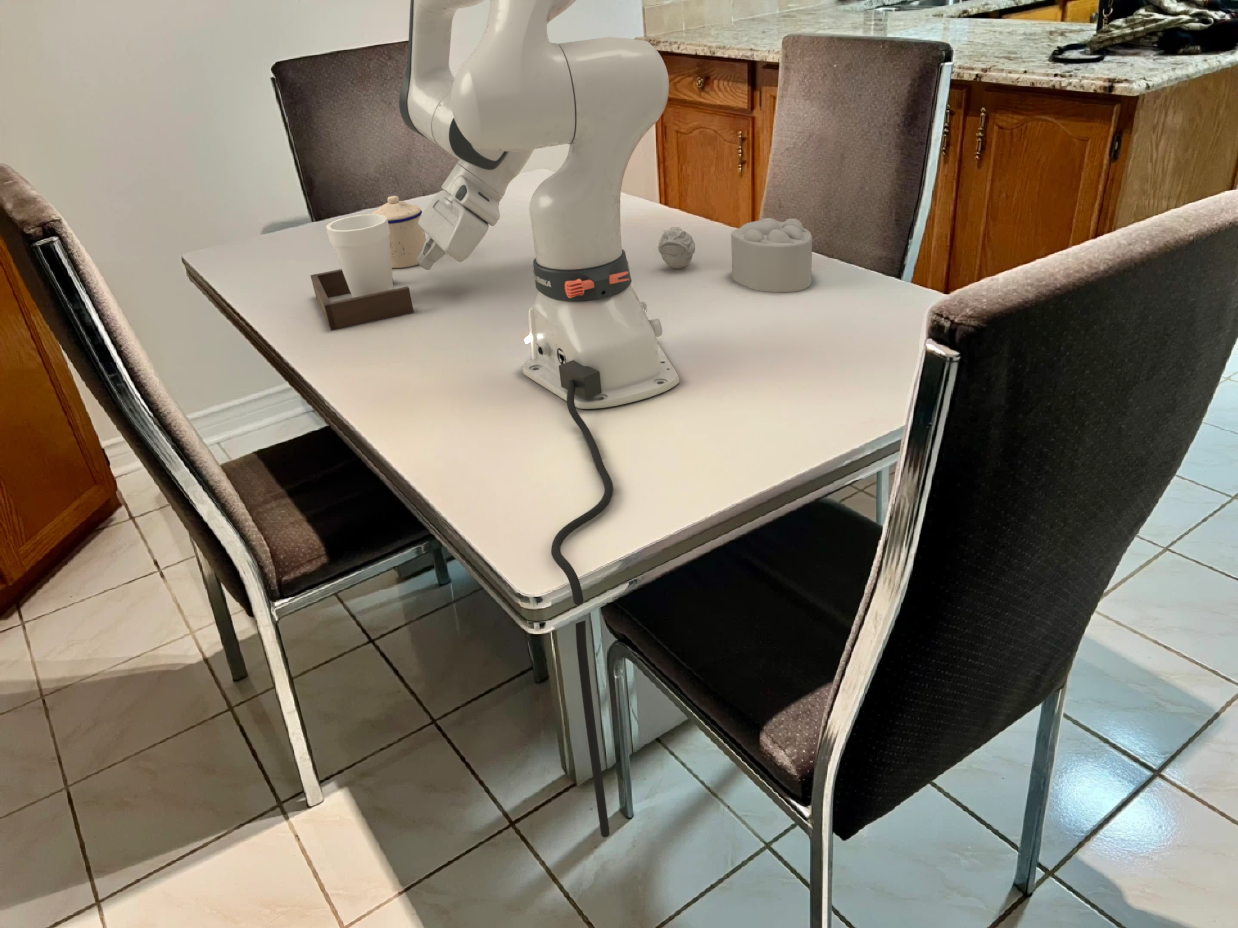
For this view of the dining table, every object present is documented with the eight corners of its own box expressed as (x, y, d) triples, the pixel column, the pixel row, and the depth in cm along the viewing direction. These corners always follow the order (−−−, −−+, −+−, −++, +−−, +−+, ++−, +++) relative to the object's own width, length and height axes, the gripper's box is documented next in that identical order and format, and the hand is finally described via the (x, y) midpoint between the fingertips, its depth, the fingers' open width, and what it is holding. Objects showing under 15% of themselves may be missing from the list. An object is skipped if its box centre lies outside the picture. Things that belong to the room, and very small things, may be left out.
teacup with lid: (425, 249, 176) (413, 187, 170) (435, 262, 169) (423, 197, 163) (361, 262, 173) (346, 198, 167) (368, 275, 165) (353, 210, 159)
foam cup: (342, 298, 156) (323, 220, 150) (397, 287, 159) (381, 210, 152) (349, 316, 148) (330, 235, 142) (407, 304, 151) (391, 224, 144)
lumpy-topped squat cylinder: (775, 261, 154) (775, 209, 150) (828, 281, 144) (830, 225, 140) (723, 276, 150) (721, 223, 145) (774, 298, 140) (774, 241, 135)
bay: (414, 312, 148) (409, 287, 146) (330, 330, 144) (324, 305, 142) (392, 282, 161) (388, 259, 159) (316, 297, 157) (310, 275, 155)
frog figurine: (654, 274, 153) (651, 232, 150) (666, 260, 159) (663, 219, 155) (690, 276, 151) (688, 233, 148) (701, 261, 157) (699, 220, 154)
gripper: (438, 171, 158) (393, 240, 160) (470, 196, 142) (419, 272, 143) (468, 193, 162) (423, 260, 164) (503, 220, 145) (452, 294, 147)
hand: (421, 266), depth 153 cm, fingers closed
